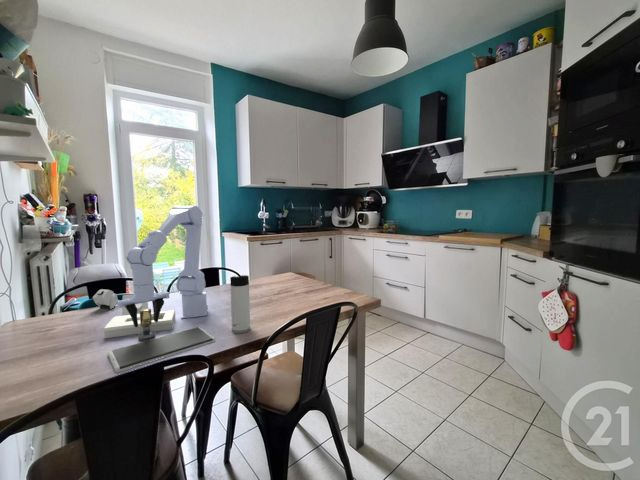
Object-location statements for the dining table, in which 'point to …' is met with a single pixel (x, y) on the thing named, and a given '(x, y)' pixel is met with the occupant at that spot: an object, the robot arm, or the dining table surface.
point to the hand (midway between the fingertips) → (146, 323)
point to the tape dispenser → (105, 299)
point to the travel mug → (240, 304)
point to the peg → (146, 325)
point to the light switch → (138, 306)
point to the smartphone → (158, 348)
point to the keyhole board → (126, 326)
